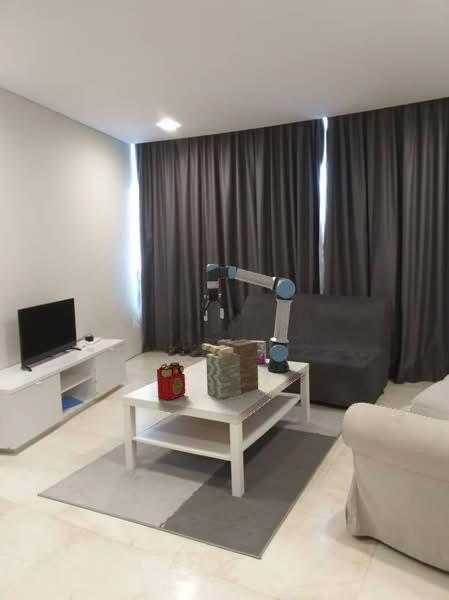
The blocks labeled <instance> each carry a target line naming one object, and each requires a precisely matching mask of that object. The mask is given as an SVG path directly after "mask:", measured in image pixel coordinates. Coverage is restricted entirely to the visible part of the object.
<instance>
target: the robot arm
mask: <svg viewBox="0 0 449 600" xmlns="http://www.w3.org/2000/svg"><path fill="white" fill-rule="evenodd" d="M220 279H235V280H238V281H241V282H245V283H248V284H249V283H250V284H253V285H257V286H260V287H264V288H267V289H270V290H271V291H274V292H275V300H276V301H277V302H276V303H277V304H276V311H275V312H276V314H275V323H274V332H273V337H270V338H269V342H268V343H269V362H268V365H267V371H268V372H270V373H273V374H274V373H275V374H280V373H287V371H288V372H289V371H290V365H289V362H288V359H287V358H288V356H289V344H290V343H289V342H290V341H289V340H288V329H289V322H290V321H289V320H290V311H291V303H293V301H294V297H295V296H294V295H295V292H296V285H295V283H294V282H293V281H292V280H291V279H289V278H285V277H279V276H274V277H272V276H268V275H265V274H261V273H257V272H254V271H249V270H246V269H242V268H238V267H236V266H232V265H226V266H219V264H218V263H213V264H212V263H211V264H207V265H206V283H207V284H206V286H207V289H206V290H207V291H206V292H207V295H203V300H202V303H201V306H200V311H202V316H203V320H204V321H205V322H207V321H208V309H209V307H210V305H211V303H214V302H216V303H217V304H218V306H219V307H220V308H219V310H220V311H219V314H220V315H219V316H220V319H224V318H225V317H224V316H225V309H226V308H227V307H228V306H227V304H226V301H225V299H224V297H223V293H220V288H219V280H220Z"/></svg>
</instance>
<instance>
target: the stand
mask: <svg viewBox="0 0 449 600" xmlns="http://www.w3.org/2000/svg"><path fill="white" fill-rule="evenodd" d="M234 340H235V341H229V342H225V346H228V347H232V348H233V355H229V356H225V357H221V356H217V355H214V354H212V352H211V353H207V354H205V357H206V363H205V364H206V386H207V388H206V389H207V395H209V396H212V397H215V398H218V399H219V400H225V399H229V398H232V397H235V396H240V395H243V394H247V393H249V392H253V391H257V390H259V364H258V352H257V342H254V341H255V340H248V339H244V338H241V339H240V338H239V339H234Z"/></svg>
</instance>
